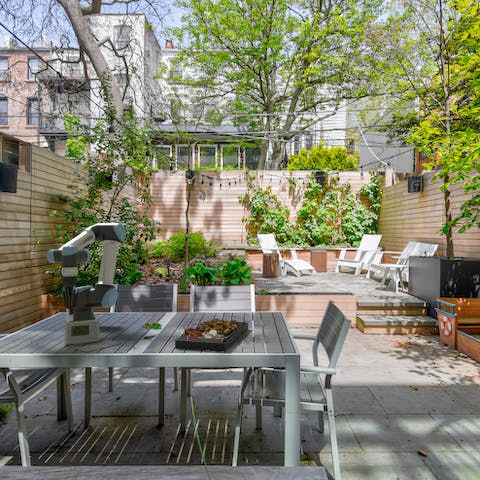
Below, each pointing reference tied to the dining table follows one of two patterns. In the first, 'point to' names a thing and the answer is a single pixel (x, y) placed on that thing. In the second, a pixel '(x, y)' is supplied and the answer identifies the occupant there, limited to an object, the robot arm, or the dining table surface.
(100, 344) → the mat
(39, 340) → the dining table surface
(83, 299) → the robot arm
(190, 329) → the food platter
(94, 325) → the digital clock
